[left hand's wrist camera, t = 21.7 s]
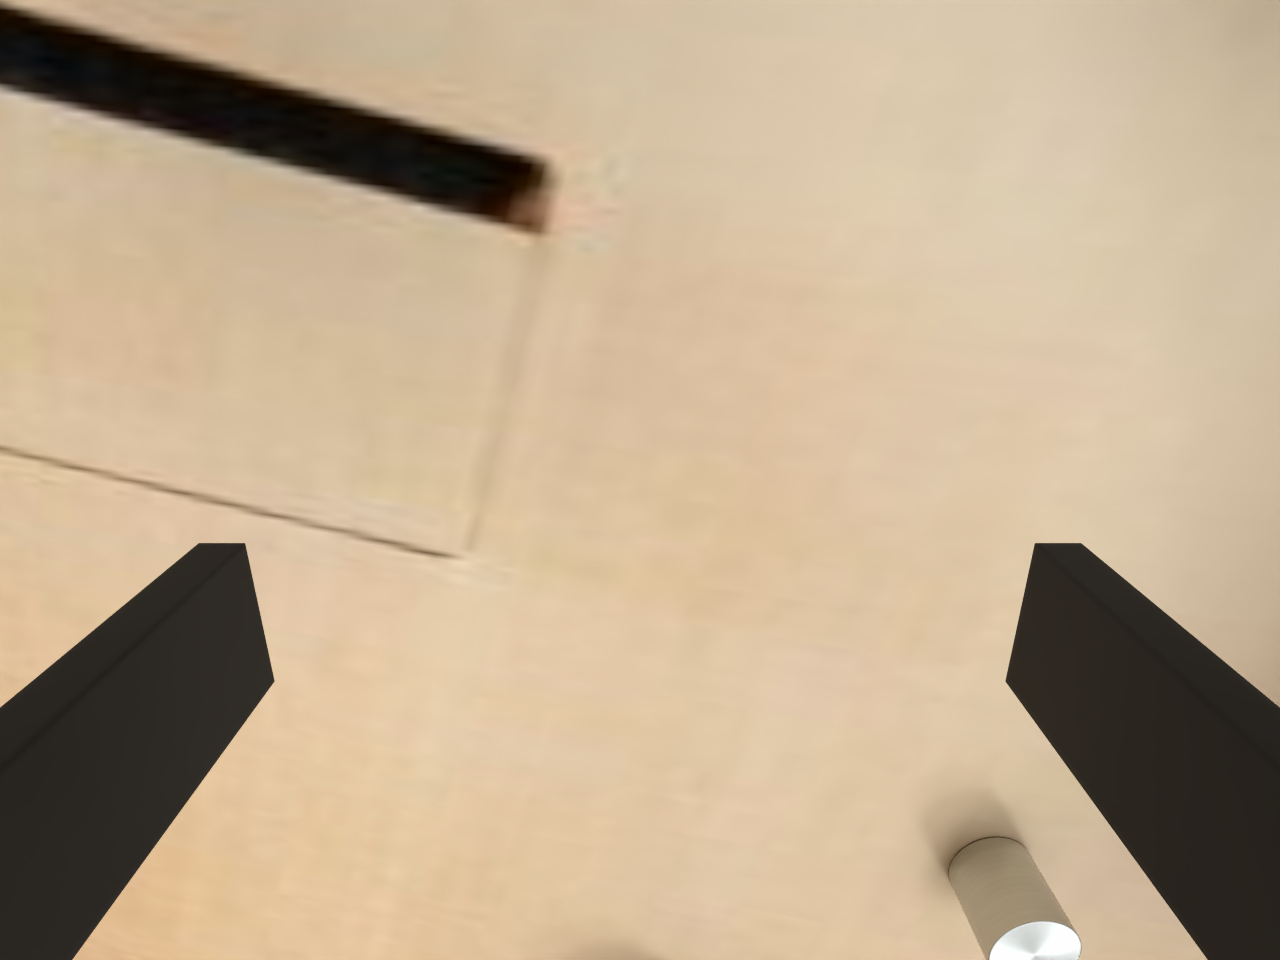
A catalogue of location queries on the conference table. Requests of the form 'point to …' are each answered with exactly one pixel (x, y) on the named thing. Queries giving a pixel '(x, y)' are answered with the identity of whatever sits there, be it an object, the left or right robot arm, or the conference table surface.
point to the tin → (1011, 903)
